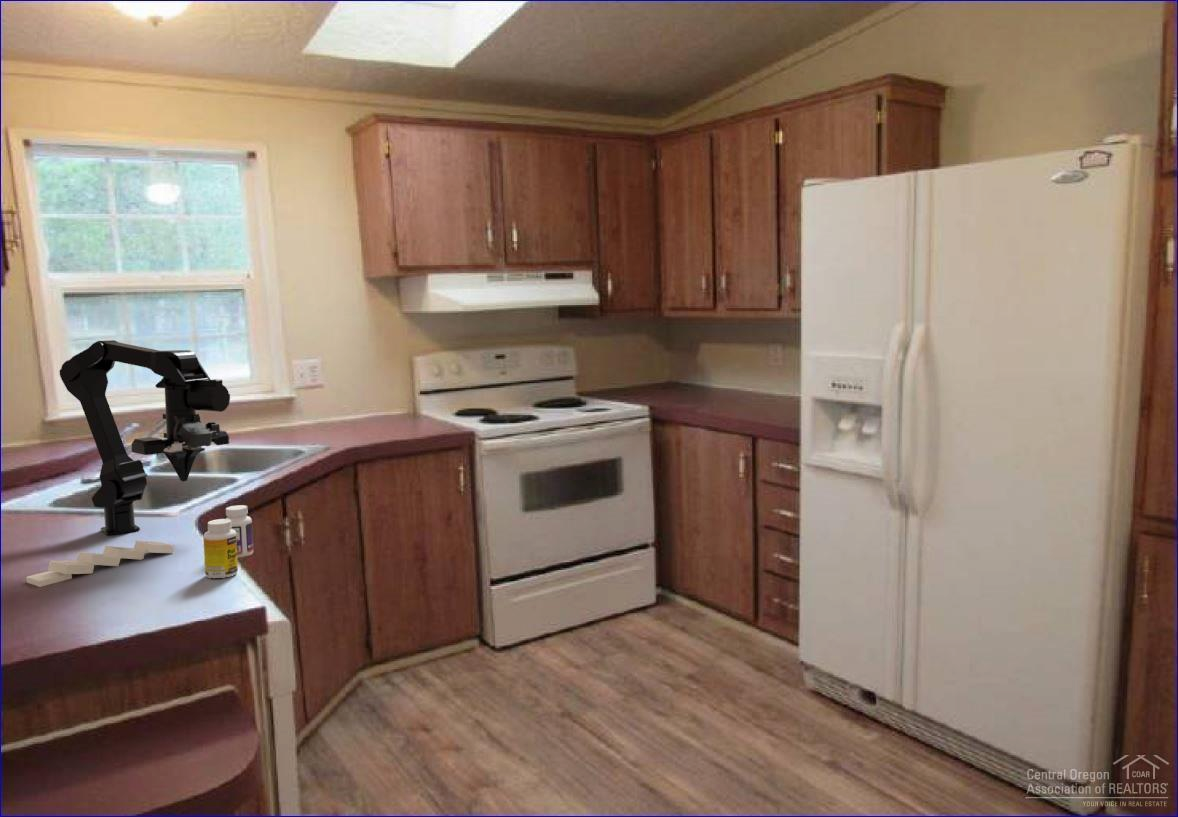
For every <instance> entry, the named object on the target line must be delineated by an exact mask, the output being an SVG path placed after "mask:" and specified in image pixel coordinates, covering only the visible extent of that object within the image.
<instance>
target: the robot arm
mask: <svg viewBox="0 0 1178 817" xmlns="http://www.w3.org/2000/svg"><path fill="white" fill-rule="evenodd" d="M117 362H118V363H121V364H126V365H131V366H132V365H133V366H137V367H141V368H146V369H149V370H151V371H152V372H153V373H154V374H156V375H158V376H160V377H162V378H161V380H159V382H157V383H156V384H155V388H157V389H164V399H165V400H164V402H165V404H164V405H165V413H162V419H163V420H165V422H166V424H165V426H166V432H164V433H163V434H162V435H163V438H164V439H162V438H157V437H154V436H153V437H152V436H148V437H141V438H134V440H133V441H132V442H131V453H135V454H139V455H142V456H150V455H158V454H163V455H165V457H166V459H167V460H168V461H169V462H170V464H171V466H172V467H173V469H174V471H175V473H176V475H177V477H178V478H179V480H180V482H187V481H188V479H189V477H190V476H189V475H190V474H191V469H192V467H193V464H194V461H195V460H196V458H197V456H198V455H199V454H200V453H201V452H205V450H206V448H205V447H209V446H211V445H212V443H213V444H214V445H215V446H222V445H229V444H230V435H229V434H228V432H227V431H226V430H221V428H220V423H219V422H218V421H209V422H206V423H202V422H201V416H200V414H199V413H196V411H200V412H201V411H204V412H206V411H207V412H219V413H222V412H224V411H225V410H227V408H228V407H229V404H230V401H231V393H230V392H229V390H228V388H227V387H226V386H225V385H224V384H223V379H219V378H215V379H214V378H213V379H211V377H210V376H209V374H208V373H207V372H206V370H205V368H204V367H203V366H202V365H201V363H200V361H199V359H198V357H197V355H196V352H194V351H193V350H189V349H187V350H186V349H182V350H180V349H179V350H174V349H173V350H170V349H169V350H158V349H153V348H148V347H143V346H138V345H133V344H130V343H129V344H128V343H123V342H120V341H116V340H115V339H113V340H110V339H109V340H97V341H96V342H94V343H92V344H91V345H90V346H89V347H88V348H86V349H85V350H82V351H80V352H79V353H77V354H75V355H73V356H72V357H71V358H70V359H68V360H66V361H64V362H63V364H62V365H61V368H60V369H59V376H60V379H61V381H62V383H63V384H64V387H65V388H66V390H67V392H69V394H71V395H72V396H73V397H74V398H75V399H76V400H78V401H79V403H80V405H81V407H82V410H83V413H84V416H85V418H86V421H87V424H88V426H89V427H88V428H89V429H90V432H91V436H92V438H93V440H94V443H95V445H96V449H97V450H98V454H99V456H100V459H101V462H102V464H101V469H100V473H99V480H100V485H101V486H100V487H99V488H98V490H97V491H96V492H95V493H94V494H93V496H92V497H91V501H92V503H93V506H94V507H95V508H103V512H104V513H103V514H104V526H102V527H100V530H101V531H102V532H103V533H104V534H105V535H106V534H107V535H106V536H112V534H113V535H117V534H118V533H119V534H123V533H130V532H137V531H140V530H141V528H140V527H139V526H138V525H136V524H135V522H136V521H135V510H134V508H135V507H134V502H136V501H141V500H142V499H143V496H144V493H145V492H144V491H145V490H146V487H147V484H148V483H147V482H148V481H147V477H148V474H147V472H146V471H145V469H144V466H143V462H142V460H141V459H136V460H134V459H133V458H131V457H130V456H129V455H128V452H127V450H126V447H125V444H124V442H123V440H122V437H121V434H120V432H119V429H118V426H117V424H116V420H115V418H114V415H113V413H112V410H111V408H110V405H109V402H108V399H107V396H106V392H107V388H108V384H109V380H108V379H109V378H108V375H107V374H108V373H109V372H110V371H111V370H112V369H114V367H115V363H117Z"/></svg>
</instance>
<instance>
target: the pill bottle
mask: <svg viewBox="0 0 1178 817" xmlns="http://www.w3.org/2000/svg"><path fill="white" fill-rule="evenodd" d="M248 511H249V510H248V505H245V504H244V505H243V504H241V505H240V504H239V505H230V506H227V507H226V508H225V516H226V518H225V519H229V520H231V525H232V528H231V529H233V530H235V531H236V537H237V559H239V558H240V559H241V558H245V557H249V556H251V555H253V553H254V537H253V535H254V534H253V533H254V532H253V520H252V518H251V516H248V514H249V512H248Z"/></svg>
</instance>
